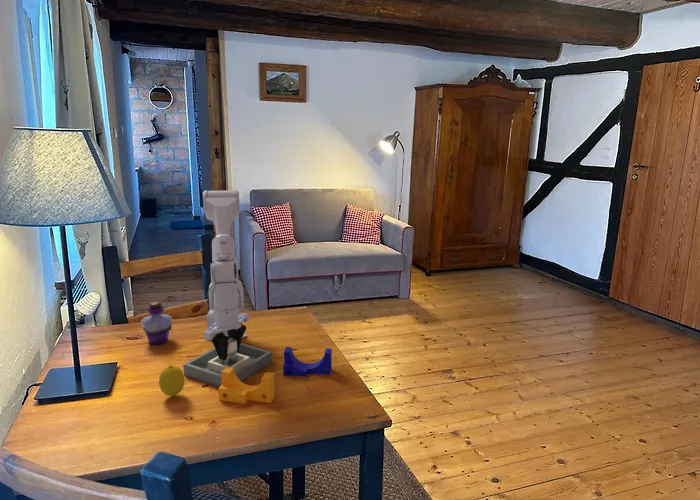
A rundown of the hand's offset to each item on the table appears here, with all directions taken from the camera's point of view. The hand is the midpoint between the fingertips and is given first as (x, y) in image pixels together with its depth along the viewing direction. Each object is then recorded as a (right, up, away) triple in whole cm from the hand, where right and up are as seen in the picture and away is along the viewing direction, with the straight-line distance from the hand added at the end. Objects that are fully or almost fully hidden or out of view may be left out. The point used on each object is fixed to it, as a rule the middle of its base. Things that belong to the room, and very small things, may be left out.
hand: (228, 355), depth 130 cm
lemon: (-10, -7, -13) cm, 18 cm away
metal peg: (0, -2, 0) cm, 2 cm away
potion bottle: (-24, +1, +16) cm, 29 cm away
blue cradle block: (+21, -5, 0) cm, 21 cm away
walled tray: (0, -4, +1) cm, 4 cm away
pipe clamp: (+7, -8, -13) cm, 17 cm away
